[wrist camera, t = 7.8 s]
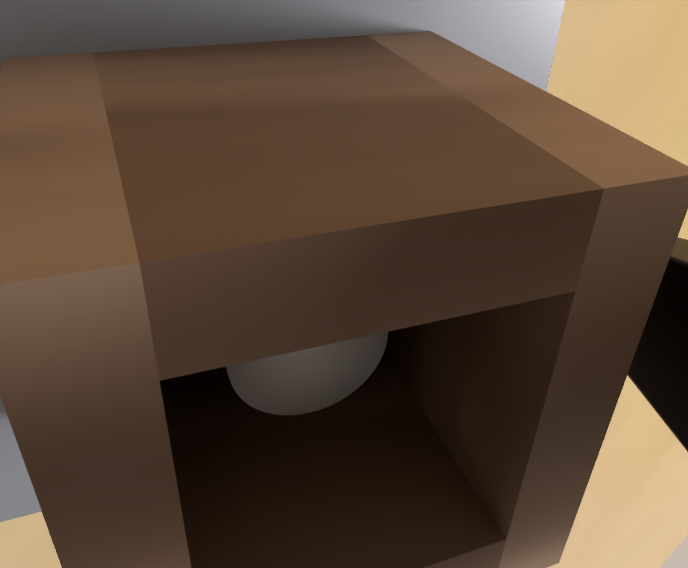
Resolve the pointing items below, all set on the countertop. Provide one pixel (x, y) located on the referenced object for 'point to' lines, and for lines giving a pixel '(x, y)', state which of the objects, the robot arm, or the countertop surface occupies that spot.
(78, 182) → the walnut sleeve
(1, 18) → the pin plate
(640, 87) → the countertop surface
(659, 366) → the robot arm
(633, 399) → the countertop surface
